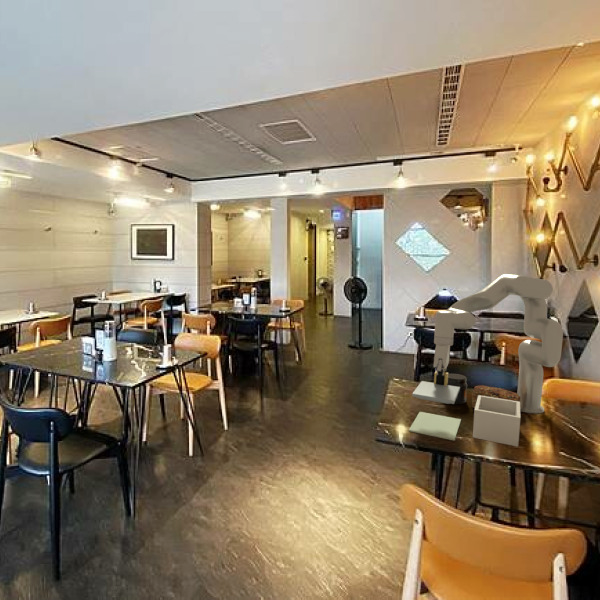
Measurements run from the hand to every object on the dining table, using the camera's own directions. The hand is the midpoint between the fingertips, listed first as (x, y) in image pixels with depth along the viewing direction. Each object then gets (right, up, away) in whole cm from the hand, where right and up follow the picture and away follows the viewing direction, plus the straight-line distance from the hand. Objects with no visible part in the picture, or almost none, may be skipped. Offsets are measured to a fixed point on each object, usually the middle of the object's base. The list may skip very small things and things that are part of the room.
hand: (440, 382), depth 174 cm
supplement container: (+14, -14, +22) cm, 30 cm away
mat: (-4, -16, -6) cm, 18 cm away
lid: (-4, -3, -7) cm, 9 cm away
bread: (+29, -15, +12) cm, 35 cm away
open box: (+18, -17, -12) cm, 27 cm away
